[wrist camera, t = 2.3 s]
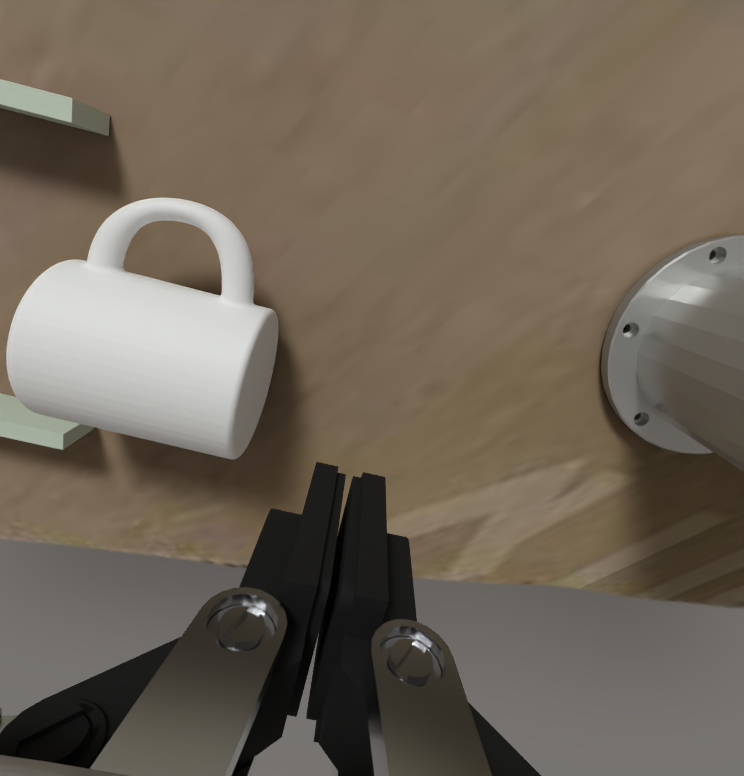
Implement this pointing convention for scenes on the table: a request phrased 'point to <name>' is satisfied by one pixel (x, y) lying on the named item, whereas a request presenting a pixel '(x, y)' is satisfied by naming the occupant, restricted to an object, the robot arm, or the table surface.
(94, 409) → the mug
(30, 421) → the green u-shaped bracket
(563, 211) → the table surface
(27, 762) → the robot arm
